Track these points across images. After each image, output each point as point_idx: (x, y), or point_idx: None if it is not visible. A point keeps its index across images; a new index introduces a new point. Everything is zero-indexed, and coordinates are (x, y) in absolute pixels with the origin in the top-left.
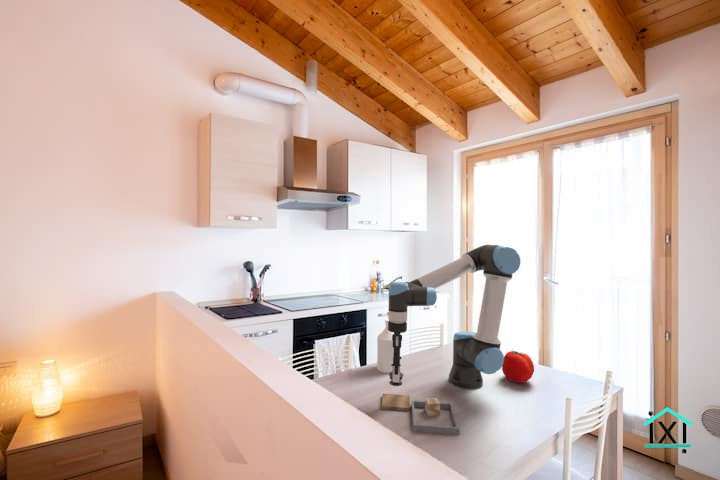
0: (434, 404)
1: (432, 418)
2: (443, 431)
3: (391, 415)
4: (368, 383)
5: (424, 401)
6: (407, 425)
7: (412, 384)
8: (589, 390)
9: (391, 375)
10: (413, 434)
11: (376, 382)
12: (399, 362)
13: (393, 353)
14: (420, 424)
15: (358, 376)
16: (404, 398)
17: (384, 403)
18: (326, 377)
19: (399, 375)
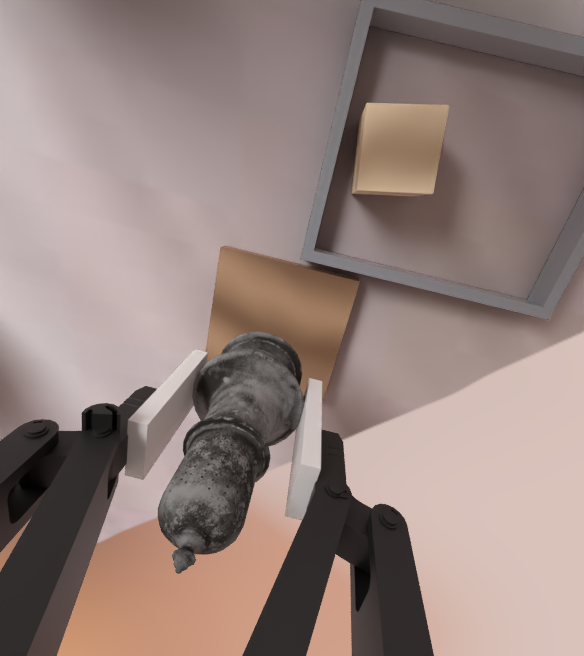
0: (439, 150)
1: (449, 182)
2: None
3: (381, 367)
4: (81, 395)
5: (319, 186)
6: (479, 324)
7: (54, 179)
8: None
9: (273, 440)
10: (557, 318)
11: (64, 361)
12: (412, 558)
13: (33, 491)
14: (554, 285)
15: (16, 421)
16: (255, 282)
17: (301, 384)
18: None
19: (321, 411)
